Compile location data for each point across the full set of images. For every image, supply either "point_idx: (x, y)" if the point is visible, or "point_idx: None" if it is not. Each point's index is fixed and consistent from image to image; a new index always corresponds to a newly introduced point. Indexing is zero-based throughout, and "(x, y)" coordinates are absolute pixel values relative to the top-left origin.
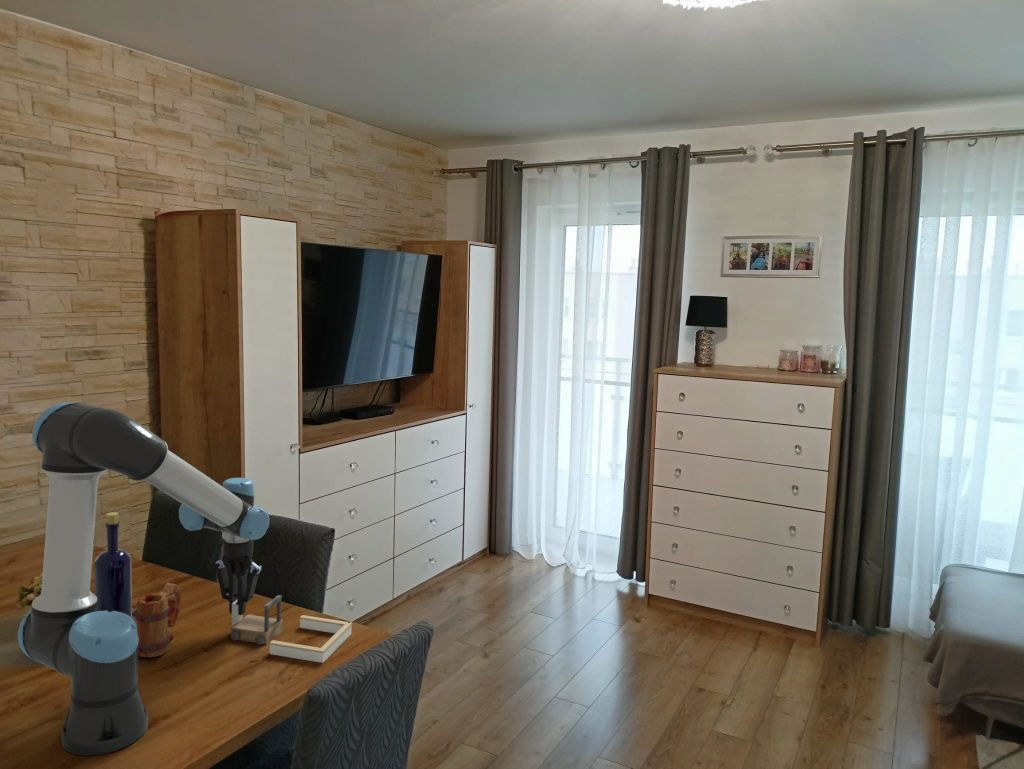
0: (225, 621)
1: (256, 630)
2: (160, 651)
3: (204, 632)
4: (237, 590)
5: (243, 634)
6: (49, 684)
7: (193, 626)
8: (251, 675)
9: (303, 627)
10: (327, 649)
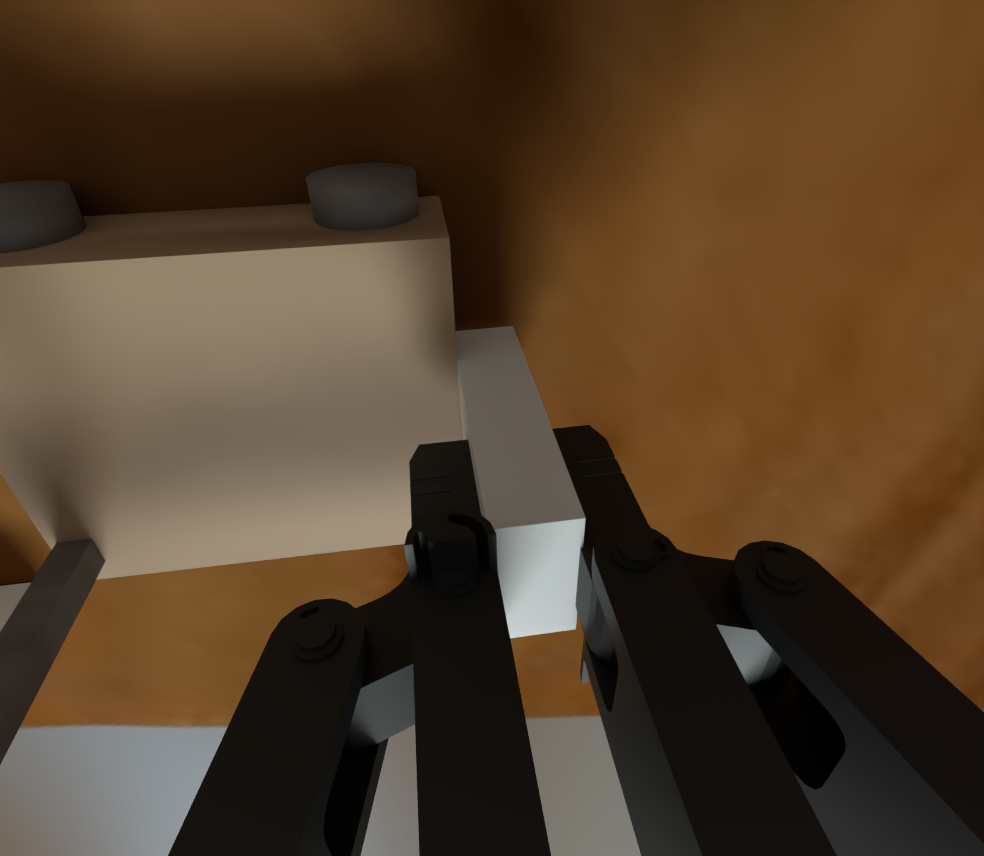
0: (669, 446)
1: (66, 283)
2: None
3: (765, 213)
4: (539, 810)
5: (268, 226)
6: None
7: (902, 279)
8: None
9: (2, 590)
10: None
